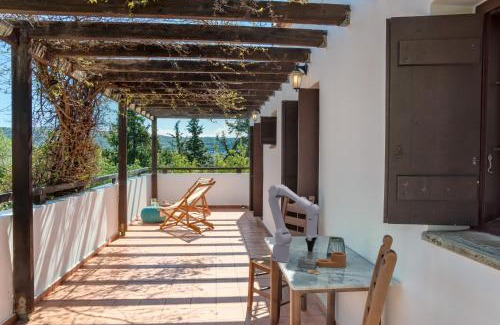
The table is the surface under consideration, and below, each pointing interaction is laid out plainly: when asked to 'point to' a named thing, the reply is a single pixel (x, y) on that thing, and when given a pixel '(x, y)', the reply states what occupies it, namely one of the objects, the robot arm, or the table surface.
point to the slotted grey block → (310, 255)
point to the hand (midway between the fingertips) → (310, 251)
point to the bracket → (333, 261)
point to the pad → (313, 272)
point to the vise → (306, 263)
